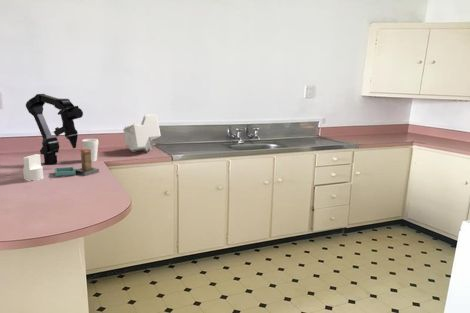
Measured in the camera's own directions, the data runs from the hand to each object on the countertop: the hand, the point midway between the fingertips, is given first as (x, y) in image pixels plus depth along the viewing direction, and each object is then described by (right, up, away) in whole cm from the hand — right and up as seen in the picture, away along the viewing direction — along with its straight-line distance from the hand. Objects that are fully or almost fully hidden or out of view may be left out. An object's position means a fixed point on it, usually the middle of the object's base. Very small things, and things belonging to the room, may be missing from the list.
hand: (74, 148), depth 219 cm
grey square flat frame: (+9, -14, -6) cm, 18 cm away
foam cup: (+2, -7, +22) cm, 23 cm away
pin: (+9, -14, -6) cm, 18 cm away
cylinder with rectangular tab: (-13, -16, -20) cm, 29 cm away
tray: (-1, -14, -10) cm, 17 cm away
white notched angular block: (+26, -1, +51) cm, 58 cm away
